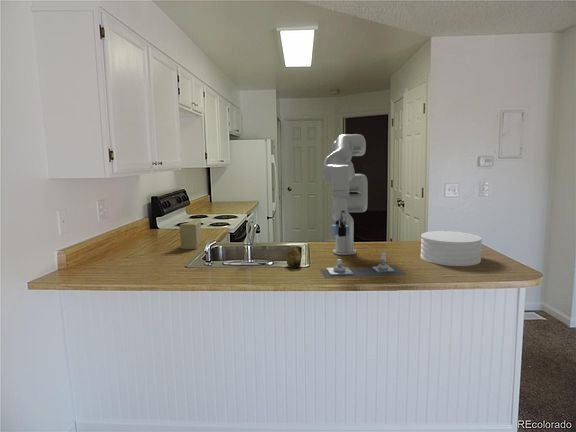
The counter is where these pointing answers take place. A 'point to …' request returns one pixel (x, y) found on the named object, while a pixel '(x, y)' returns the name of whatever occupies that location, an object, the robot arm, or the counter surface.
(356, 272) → the bench mat
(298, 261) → the potato
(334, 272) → the hub
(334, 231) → the square hole block
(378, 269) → the stand
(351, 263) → the counter surface
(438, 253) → the plate stack
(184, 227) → the cheese
